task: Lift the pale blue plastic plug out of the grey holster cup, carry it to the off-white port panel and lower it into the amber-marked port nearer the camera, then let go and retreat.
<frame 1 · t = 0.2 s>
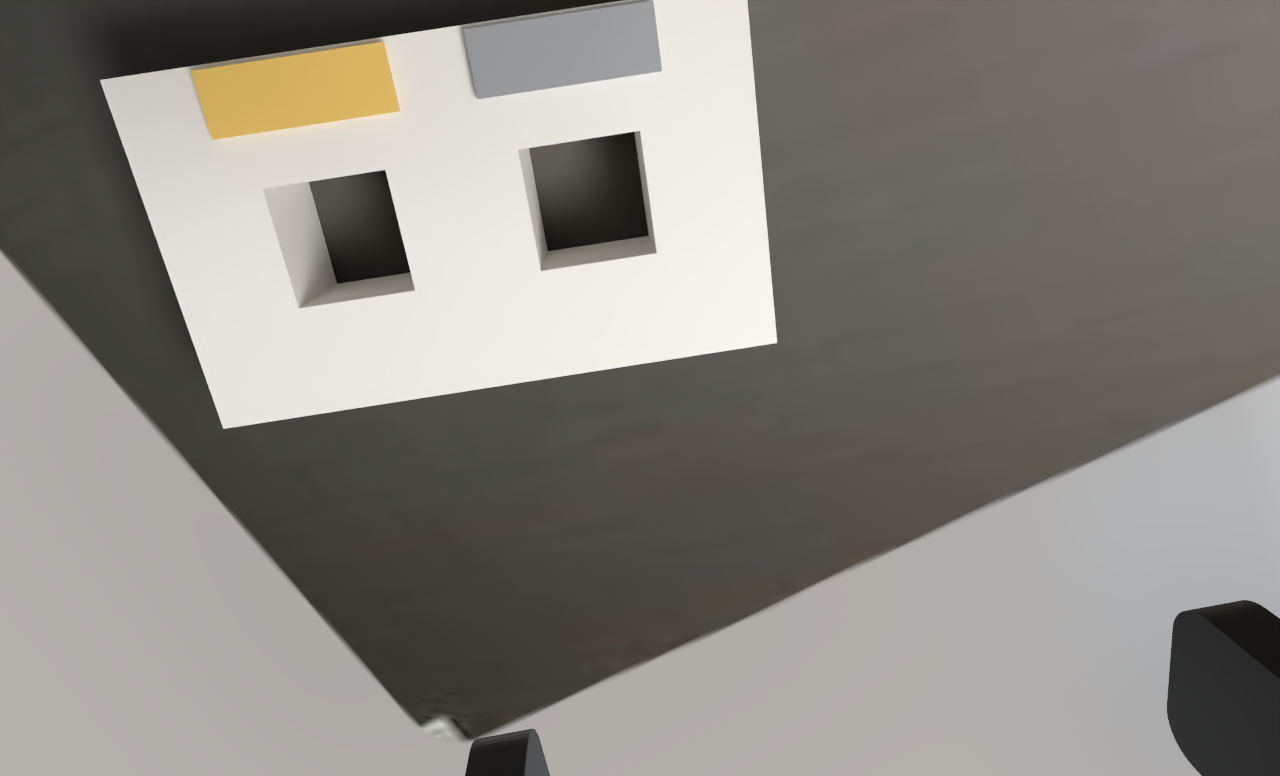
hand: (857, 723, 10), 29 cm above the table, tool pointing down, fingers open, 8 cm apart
port panel: (482, 208, 35), on the table
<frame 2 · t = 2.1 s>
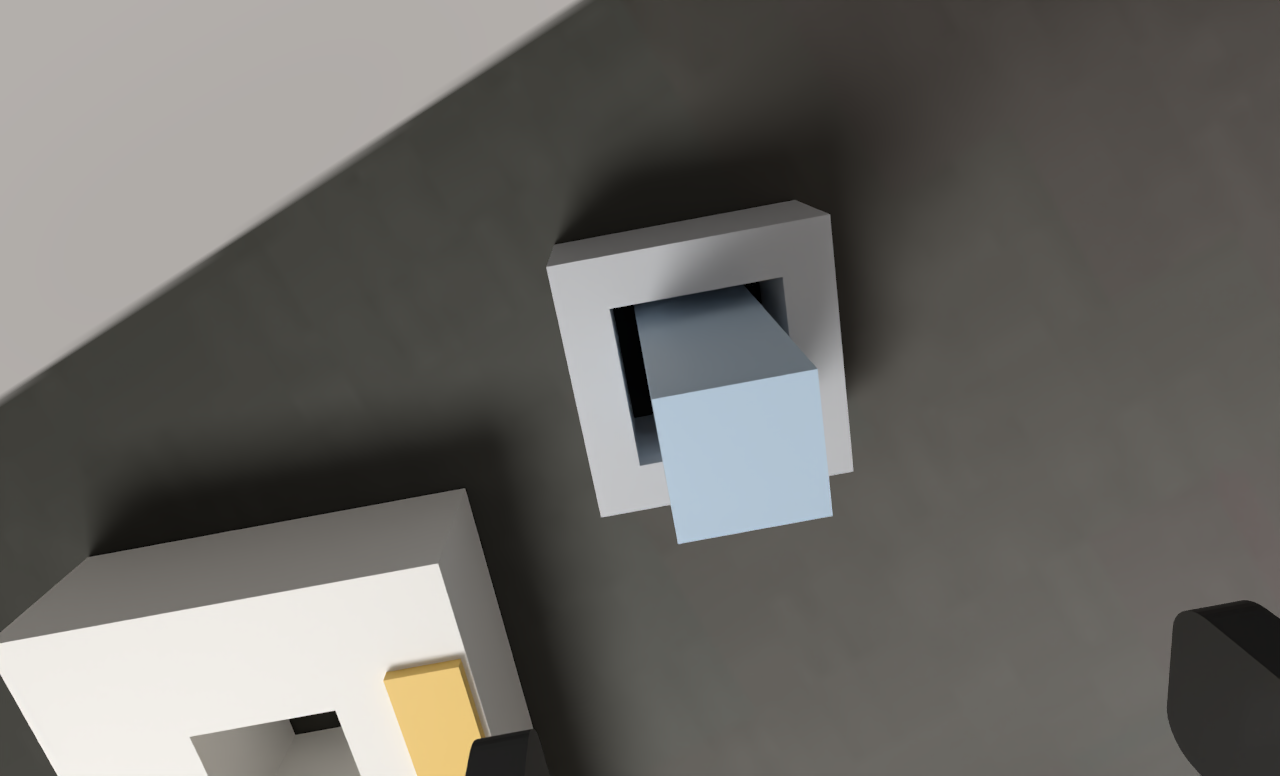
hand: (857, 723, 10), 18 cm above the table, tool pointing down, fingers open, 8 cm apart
plug: (692, 338, 26), resting in holster
port panel: (372, 773, 32), on the table
holster: (692, 338, 26), on the table
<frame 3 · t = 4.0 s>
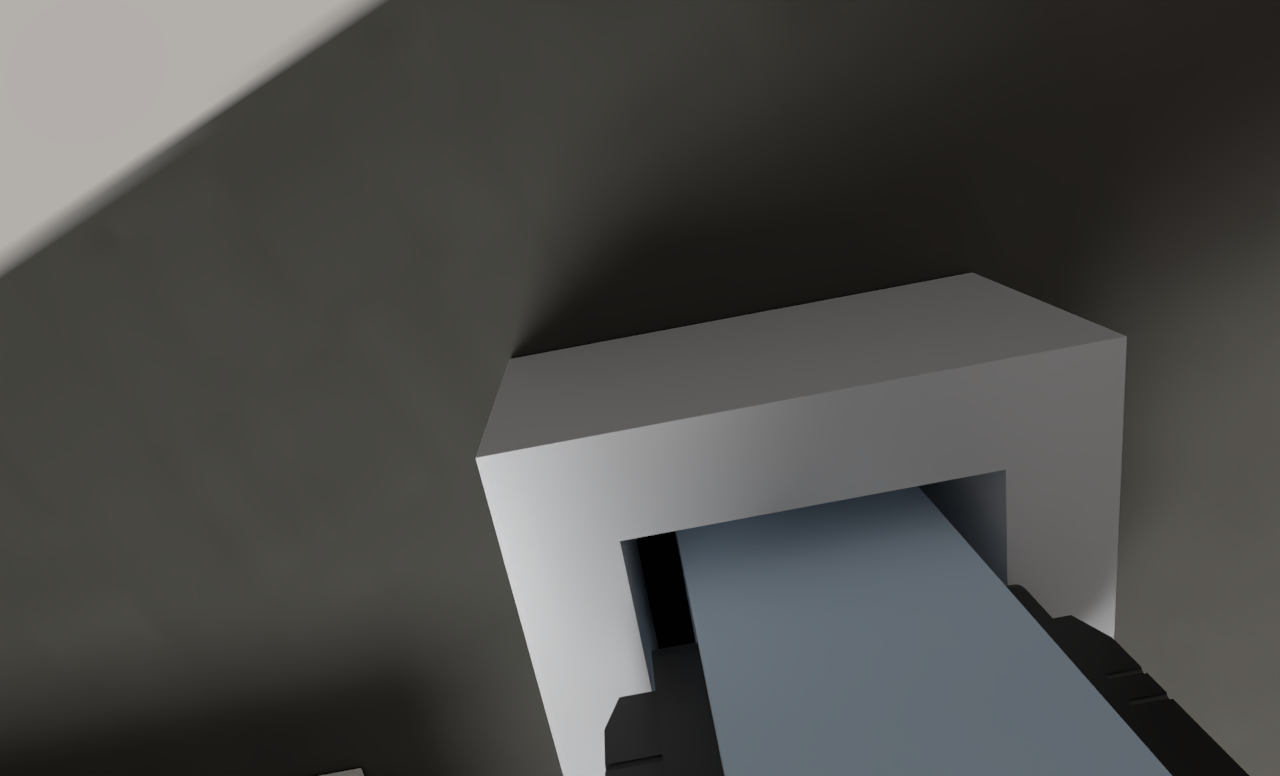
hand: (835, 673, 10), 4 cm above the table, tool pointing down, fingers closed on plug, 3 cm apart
plug: (770, 522, 14), resting in holster, touching gripper
holster: (768, 519, 14), on the table
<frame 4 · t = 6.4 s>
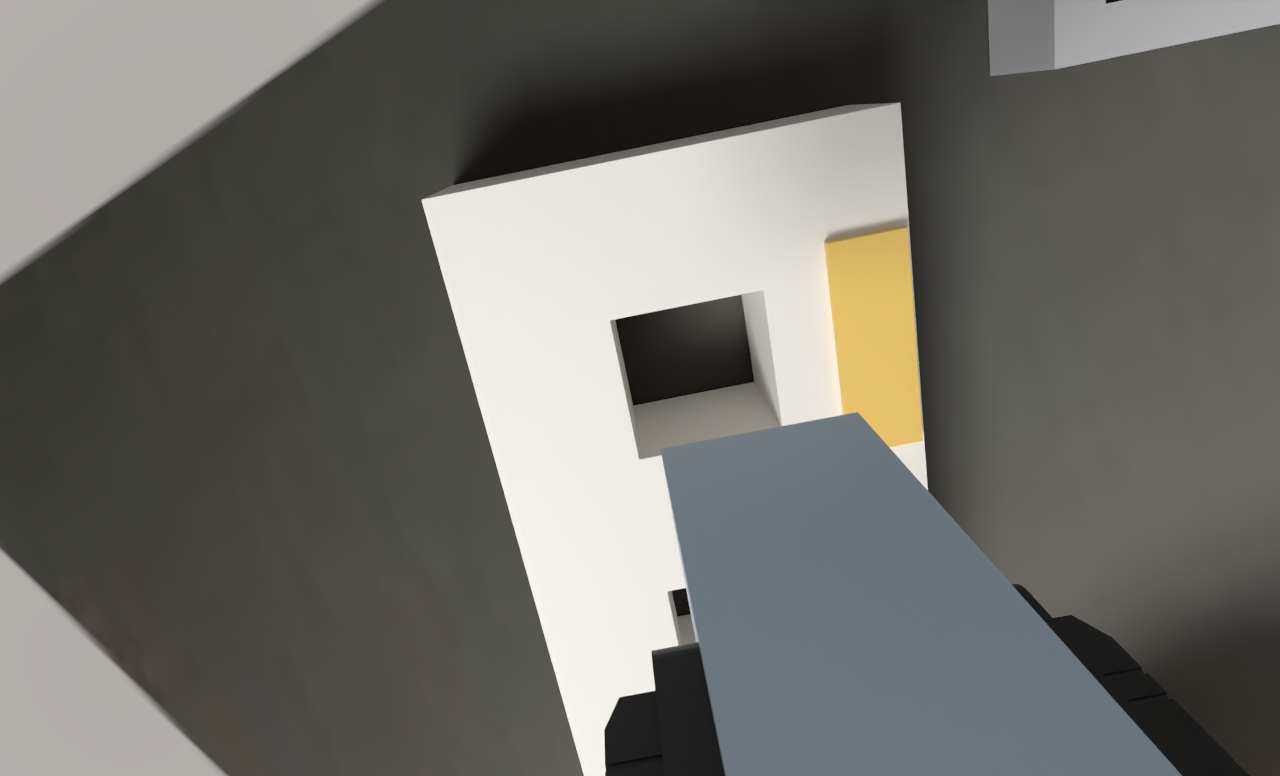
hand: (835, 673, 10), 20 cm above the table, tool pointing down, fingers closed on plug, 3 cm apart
plug: (770, 517, 14), point 15 cm above the table, touching gripper
port panel: (704, 453, 31), on the table
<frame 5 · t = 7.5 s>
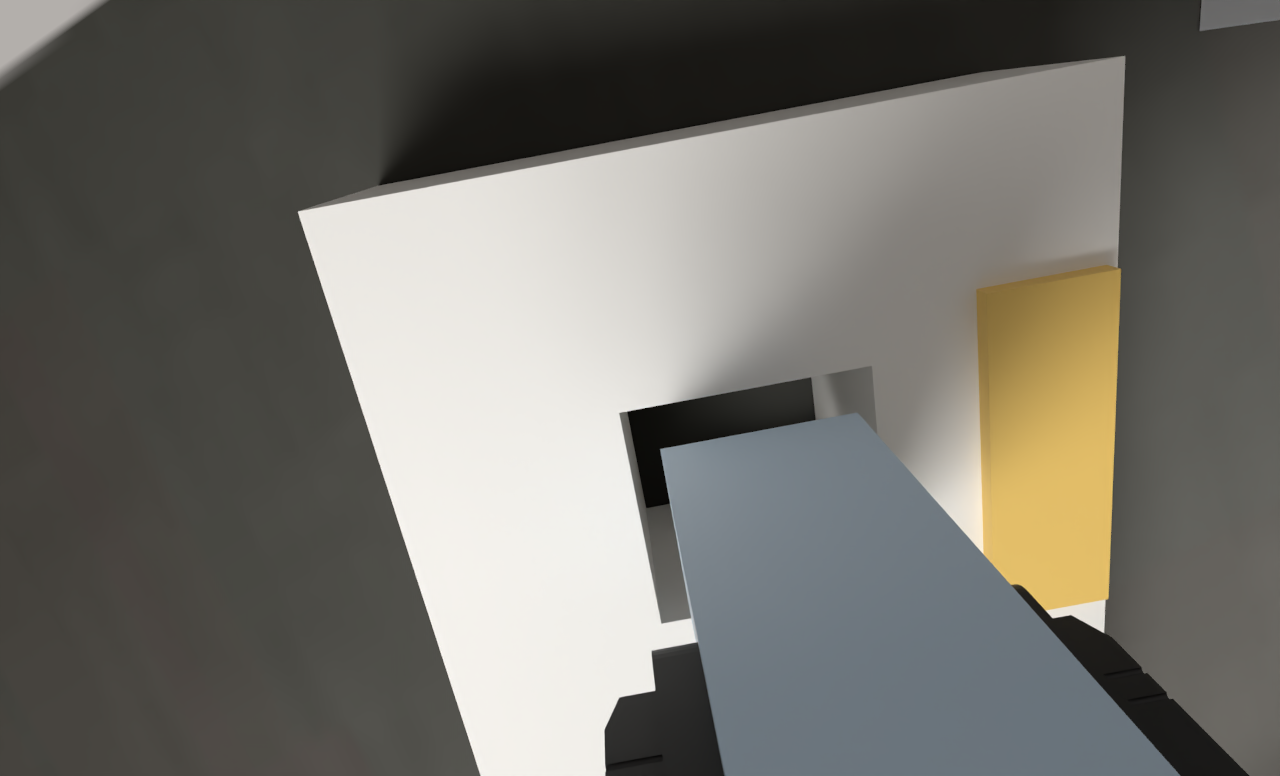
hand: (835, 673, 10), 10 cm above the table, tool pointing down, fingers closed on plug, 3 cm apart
plug: (770, 517, 14), point 6 cm above the table, touching gripper
port panel: (746, 573, 22), on the table
when the fingers open (6 cm above the table, at t = 8.7 s): plug drops 1 cm, resting in port panel.
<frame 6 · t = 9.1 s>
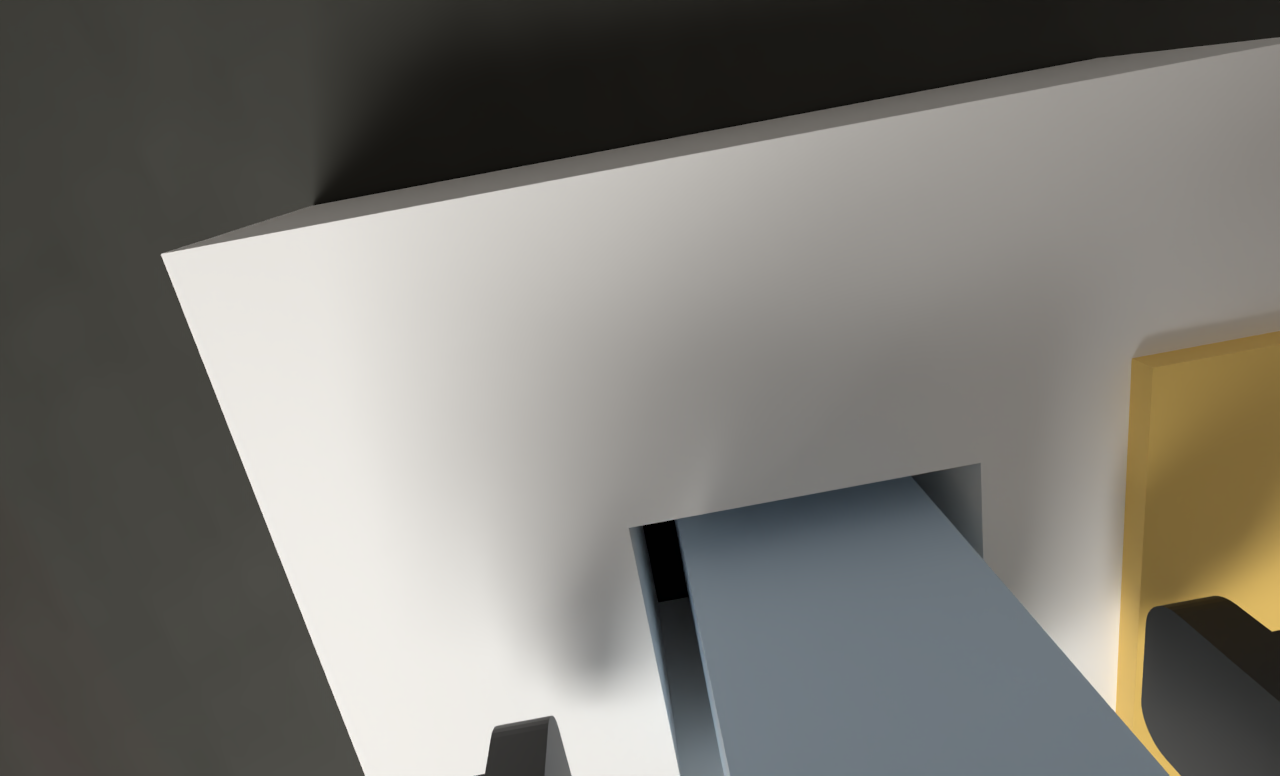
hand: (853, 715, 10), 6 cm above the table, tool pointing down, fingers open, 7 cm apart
plug: (756, 484, 16), resting in port panel
port panel: (780, 678, 17), on the table
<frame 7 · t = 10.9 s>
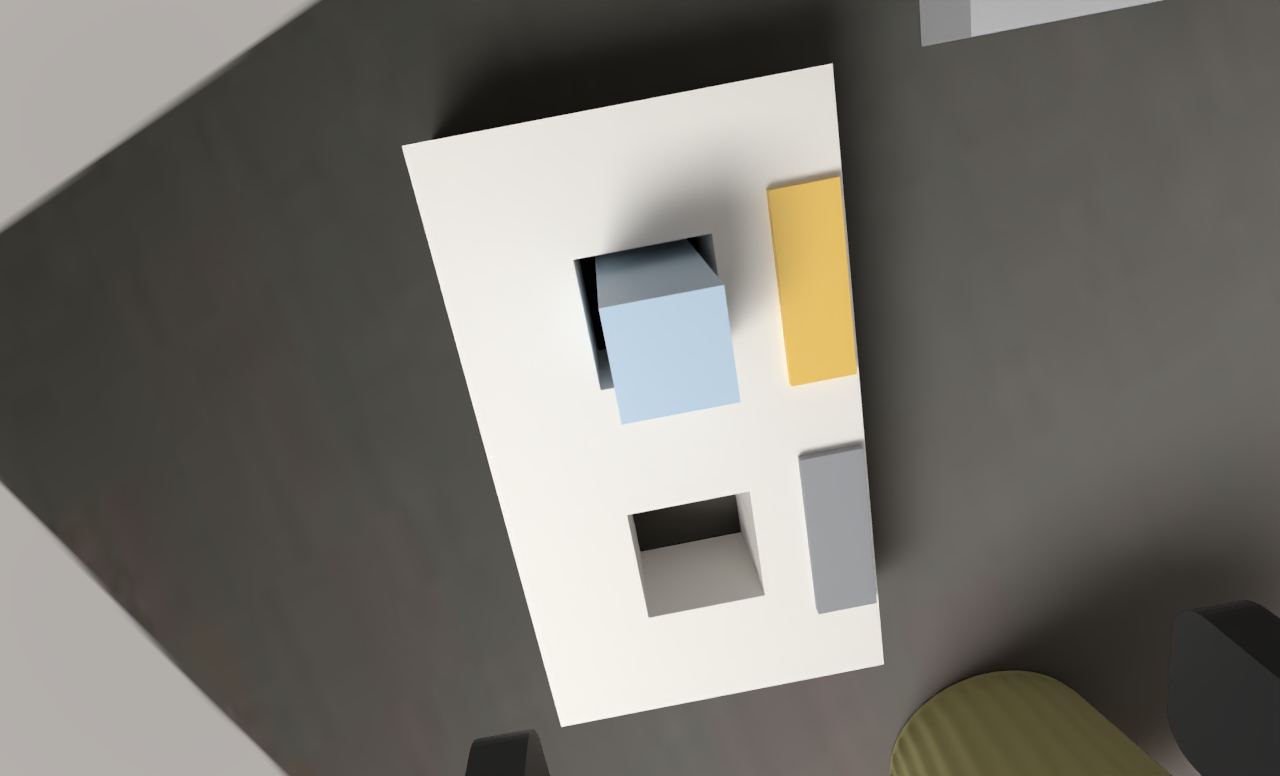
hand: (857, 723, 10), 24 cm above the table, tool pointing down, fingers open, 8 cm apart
plug: (645, 284, 32), resting in port panel
port panel: (664, 396, 33), on the table
potted cactus: (990, 751, 42), on the table
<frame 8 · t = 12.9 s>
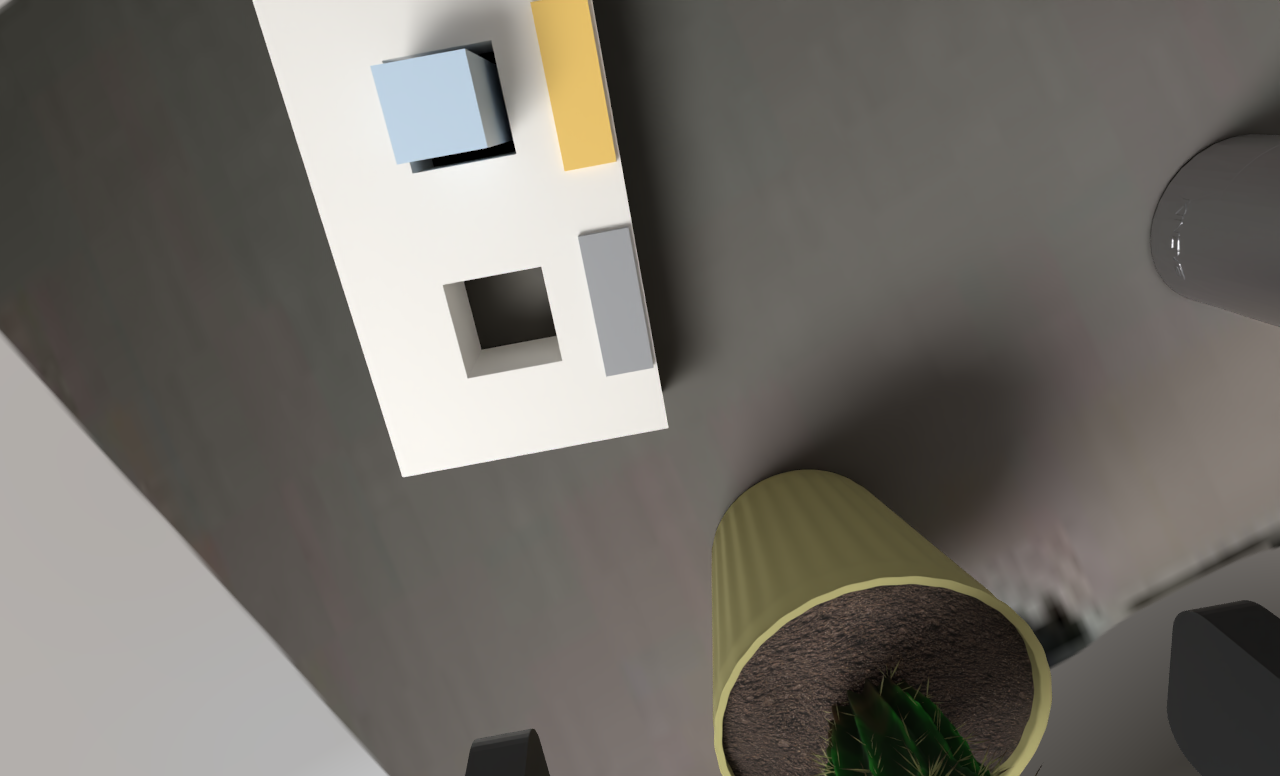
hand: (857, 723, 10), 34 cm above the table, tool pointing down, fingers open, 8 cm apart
plug: (469, 109, 39), resting in port panel
port panel: (491, 208, 40), on the table
potted cactus: (799, 547, 49), on the table
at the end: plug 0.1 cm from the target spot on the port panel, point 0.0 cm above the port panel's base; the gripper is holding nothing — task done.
